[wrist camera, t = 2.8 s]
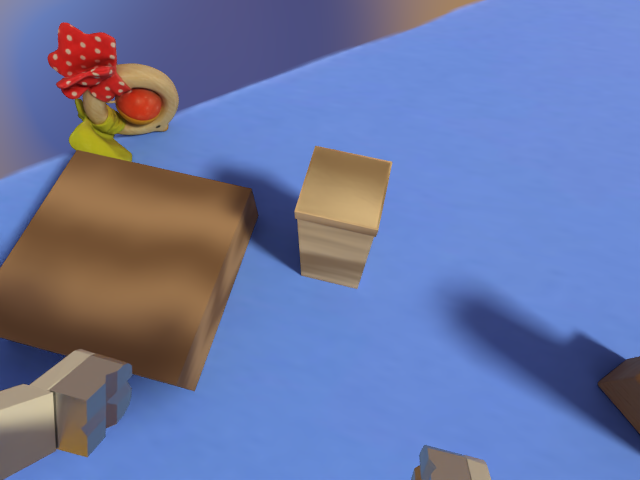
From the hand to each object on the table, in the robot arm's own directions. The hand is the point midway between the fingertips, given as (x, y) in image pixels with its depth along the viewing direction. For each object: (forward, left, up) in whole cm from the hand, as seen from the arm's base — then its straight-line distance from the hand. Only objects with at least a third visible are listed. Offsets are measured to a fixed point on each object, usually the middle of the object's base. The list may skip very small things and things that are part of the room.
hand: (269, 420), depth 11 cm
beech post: (+12, 0, -17) cm, 21 cm away
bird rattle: (+19, +20, -17) cm, 33 cm away
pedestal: (+7, +14, -17) cm, 23 cm away
